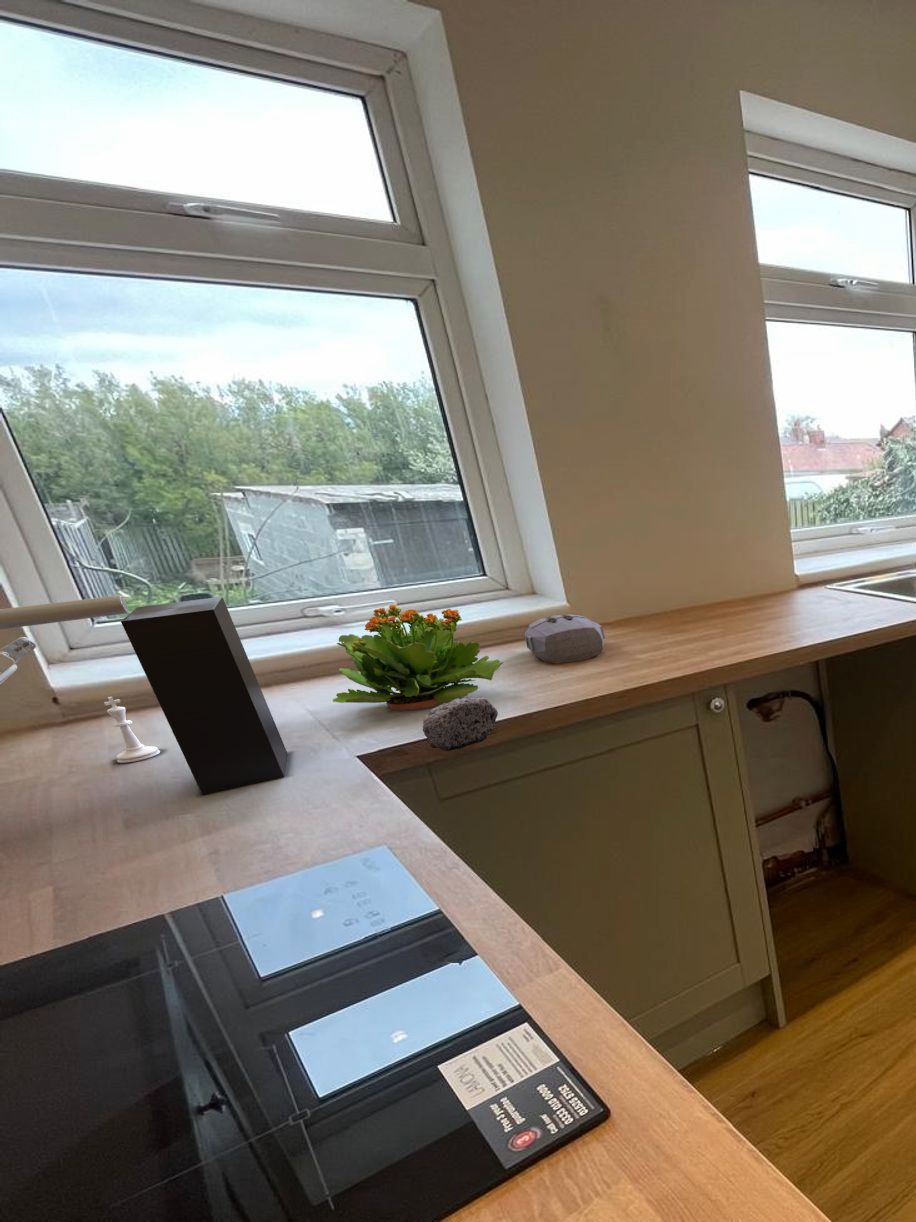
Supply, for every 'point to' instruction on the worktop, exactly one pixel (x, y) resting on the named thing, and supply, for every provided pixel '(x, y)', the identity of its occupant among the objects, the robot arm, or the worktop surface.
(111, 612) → the matchstick with dark head
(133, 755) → the chess piece
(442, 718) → the pumice stone
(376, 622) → the potted flower
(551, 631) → the soft grey pack
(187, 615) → the black box
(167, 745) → the worktop surface
